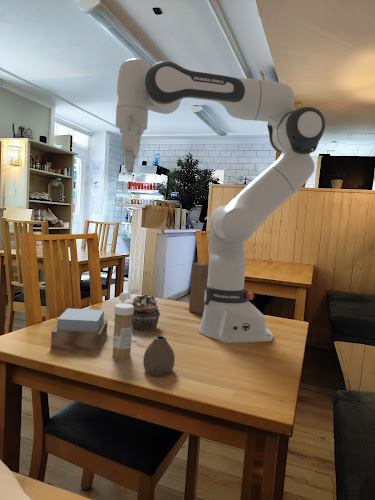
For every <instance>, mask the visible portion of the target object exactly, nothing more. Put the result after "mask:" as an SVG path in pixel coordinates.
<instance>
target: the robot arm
mask: <svg viewBox="0 0 375 500" xmlns="http://www.w3.org/2000/svg"><path fill="white" fill-rule="evenodd" d="M117 77H118V78H117V85H116V87H117V89H116V94H117V98H118V99H117V103H116V106H115V109H116V110H115V126H116V127H117V128H118V129H119V133H120V134H121V149H122V152H123V154H124V161H125V162H124V168H125V170H126V172H127V173H129V174H133V173H134V165H135V160H137V159H138V157H139V152H140V151H139V150H140V145H141V139H142V135H143V134H144V132H145V130H147V129H148V122H149V121H148V119H149V111H151V112H155V113H159V114H163V115H166V114H167V115H169V114H172V113H174V112H176V110H178V108H179V107H180V106H181V105H180V104H181V101H182V100H183V99H196V100H202V101H203V100H204V101H210V102H211V101H213V102H217V103H219V104H221V105H222V106H223V107H224V109H225V111H226V112H227V114H228V115H229V116H231V117H232V118H235V119H239V120H244V121H255V122H256V121H258V122H267V131H268V137H269V142H270V145H271V146H272V148H273V150H274V151H277V153H280V155H279V157H278V158H277V159H276V160H275V161H274V162H272V163H271V164H270V165H269V166H267V168H265V169H264V170H263V171H261V172H260V173H259V174H258V175H257V176H256V177H255V178H254V179H252V180H251V181H250V182H249V183H247V185H246V186H245V187H244V188H243V190H241V191H240V192H239V193H238V194H237V195H236V197H234V198H233V199H232V200H231V201H229V203H227V204H223V205H221V206H218V207H217V208H215V209H214V210H213V211H212V212H211V215H210V217H209V225H208V226H209V227H208V228H209V229H208V278H207V285H206V289H205V296H204V302H205V308H204V313H203V315H202V318H201V320H200V325H199V327H198V332H199V333H200V334H201V335H203V336H204V337H205V336H206V337H208V338H212V339H215V340H218V341H220V342H221V343H231V344H233V343H254V342H255V343H256V342H258V343H259V342H271V341H273V339H274V335H273V333H272V331H271V330H270V329H269V328H268V327H267V323H266V319H265V316H264V314H263V313H262V312H261V311H260V310H259V309H258V308H257V307H256V306H255V305H254V304H253V303H251V302H250V301H249V300H251V301H252V300H253V299H254V297H255V294H254V293H252V291H249V290H247V289H246V288H245V287H244V286H245V277H246V276H245V275H246V263H247V262H246V257H245V242H246V241H248V240H249V239H251V237H252V236H253V235H254V233H255V232H256V231H257V230H258V229H259V228H260V227H261V226H262V225H263V223H265V221H266V220H267V219H268V218H269V216H271V215H272V214H273V212H275V211H276V210H277V209H278V208H279V207H280V206H281V205H283V204H284V203H285V202H286V201H287V200H288V199H290V198H291V197H292V196H293V195H294V194H296V193H297V192H298V191H299V190H300V189H301V188H302V187H303V186H304V185H305V183H306V182H307V181H308V180H309V179H310V177H311V176H312V175H313V173H314V172H315V162H314V159H313V158H312V156H311V154H312V153H313V152H315V151H316V150H317V148H318V145H319V142H320V140H321V139H322V136H323V135H324V133H325V129H326V120H325V116H324V115H323V113H322V112H321V111H320V110H319V109H317V108H315V107H313V106H312V107H311V106H302V107H299V108H296V106H295V94H294V91H293V89H292V88H291V86H289V85H288V84H285V83H282V82H278V81H273V80H268V79H261V78H249V77H248V78H243V77H234V76H233V77H232V76H227V75H224V74H223V75H221V74H215V73H208V72H202V71H201V72H200V71H195V70H194V71H193V70H190V69H187V68H184V67H182V66H181V65H179V64H177V63H175V62H172V61H170V60H162V61H157V62H156V63H154V64H153V65H151V64H150V63H149V62H148V60H146V59H144V58H139V57H133V58H129V59H127V60H125V61H123V62H122V64H121V65H120V67H119V70H118V76H117Z"/></svg>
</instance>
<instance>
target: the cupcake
mask: <svg viewBox="0 0 375 500" xmlns="http://www.w3.org/2000/svg"><path fill="white" fill-rule="evenodd" d="M133 300H134V302H133V303H132V304H131V305H133V306H134V313H133V318H132V331H135V332H145V333H147V332H152V331H155V330H157V326H158V322H159V319H160V316H161V312H160V309H158V305H157V303H158V300H157V299H156V298H155V297H154V296H148V294H144V295H137V296H135V297H133Z"/></svg>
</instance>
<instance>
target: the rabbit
mask: <svg viewBox="0 0 375 500" xmlns="http://www.w3.org/2000/svg"><path fill="white" fill-rule="evenodd" d="M140 290H141V288H140V287H136V288H133V289H131V290H130V291H124V292H122V293H120V294H119V295H118V299H119V301H121V302H120V303H127V304H132V303H133V302H134V299H132V297H131V295H133V294H137V293H139V292H140Z"/></svg>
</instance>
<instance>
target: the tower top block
mask: <svg viewBox="0 0 375 500" xmlns="http://www.w3.org/2000/svg"><path fill="white" fill-rule="evenodd" d="M104 318H105V310H104V309H89V308H88V309H86V308H71V307H70V308H69V307H68V308H66V309H65V311H64V312H62V314H61V315H60V316H59V317H58V318H56V319H57V320H56V321H57V322H56V326H57V331H76V332H98V330H99V328H100V326H101V324H102V323H103V321H104V320H105V319H104Z"/></svg>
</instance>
